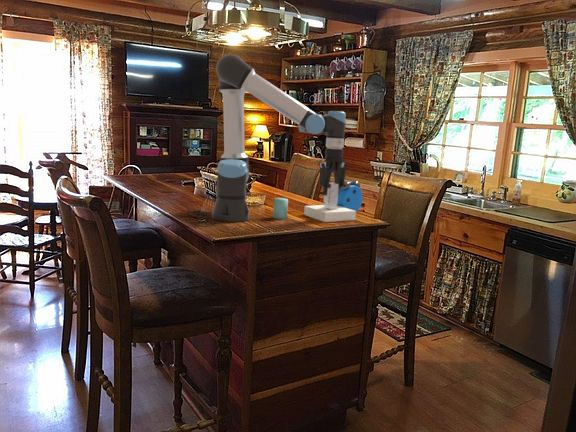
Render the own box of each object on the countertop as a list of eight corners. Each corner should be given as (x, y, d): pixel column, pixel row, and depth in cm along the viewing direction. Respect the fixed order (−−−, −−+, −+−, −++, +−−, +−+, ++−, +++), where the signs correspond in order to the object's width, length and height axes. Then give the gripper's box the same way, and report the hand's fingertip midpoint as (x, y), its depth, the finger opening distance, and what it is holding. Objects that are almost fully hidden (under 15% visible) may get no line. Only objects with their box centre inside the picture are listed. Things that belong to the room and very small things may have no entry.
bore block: (324, 222, 205) (325, 212, 205) (304, 214, 219) (304, 205, 218) (355, 220, 213) (356, 210, 213) (333, 213, 227) (334, 204, 226)
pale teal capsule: (277, 219, 205) (278, 200, 203) (270, 216, 210) (271, 198, 209) (289, 218, 208) (290, 200, 207) (282, 216, 213) (283, 197, 212)
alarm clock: (352, 211, 235) (354, 179, 232) (362, 213, 230) (365, 181, 228) (333, 213, 226) (335, 180, 224) (343, 215, 222) (345, 182, 219)
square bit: (328, 216, 213) (331, 183, 210) (323, 214, 216) (325, 182, 214) (336, 215, 215) (338, 183, 212) (330, 214, 218) (333, 182, 216)
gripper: (323, 148, 203) (319, 204, 207) (355, 149, 212) (351, 203, 216) (313, 147, 209) (309, 201, 214) (345, 147, 218) (341, 200, 222)
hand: (330, 202), depth 215 cm, fingers closed on square bit, 4 cm apart
